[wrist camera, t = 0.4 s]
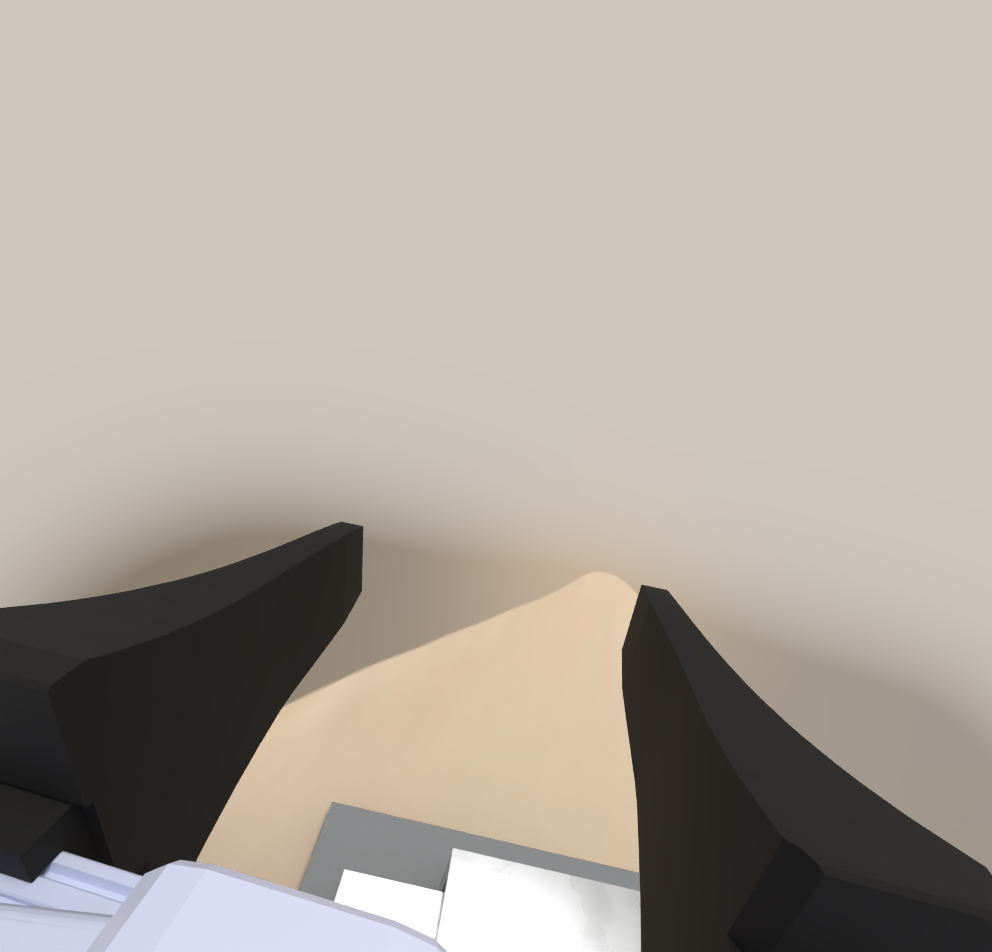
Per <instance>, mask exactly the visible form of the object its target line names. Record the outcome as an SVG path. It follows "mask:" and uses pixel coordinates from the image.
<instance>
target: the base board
mask: <svg viewBox="0 0 992 952" xmlns="http://www.w3.org/2000/svg"><path fill="white" fill-rule="evenodd" d="M453 848H455V849H460V850H464V851H468V852H473V853H477V854H481V855H485V856H490V857H494V858H498V859H503V860H507V861H511V862H516V863H520V864H524V865H529V866H533V867H537V868H542V869H546V870H550V871H555V872H559V873H563V874H567V875H572V876H576V877H580V878H585V879H589V880H593V881H598V882H602V883H606V884H611V885H615V886H619V887H624V888H628V889H632V890H636V891H640V873H637V872H633V871H629V870H624V869H620V868H616V867H611V866H607V865H603V864H598V863H594V862H590V861H586V860H581V859H577V858H573V857H568V856H564V855H560V854H555V853H551V852H547V851H542V850H538V849H534V848H529V847H525V846H521V845H516V844H512V843H508V842H504V841H499V840H495V839H491V838H486V837H482V836H478V835H473V834H469V833H465V832H460V831H456V830H452V829H447V828H443V827H439V826H435V825H430V824H426V823H422V822H417V821H413V820H409V819H404V818H400V817H396V816H391V815H387V814H383V813H378V812H374V811H370V810H366V809H361V808H357V807H353V806H348V805H344V804H340V803H335V802H332V804H331V806H330V809H329V812H328V814H327V817H326V820H325V822H324V825H323V828H322V830H321V833H320V836H319V838H318V841H317V844H316V846H315V849H314V852H313V854H312V857H311V860H310V862H309V865H308V868H307V870H306V873H305V876H304V878H303V881H302V884H301V887H300V889H299V891H302V892H305V893H308V894H311V895H315V896H318V897H321V898H324V899H328V900H331V901H335V898H336V895H337V891H338V888H339V885H340V882H341V879H342V876H343V873H344V869H345V870H349V871H354V872H358V873H362V874H366V875H371V876H375V877H379V878H384V879H388V880H392V881H397V882H401V883H405V884H410V885H414V886H418V887H423V888H427V889H431V890H436V891H438V888H439V886H440V883H441V880H442V877H443V874H444V872H445V869H446V866H447V863H448V860H449V858H450V855H451V852H452V849H453Z"/></svg>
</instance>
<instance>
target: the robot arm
mask: <svg viewBox="0 0 992 952" xmlns="http://www.w3.org/2000/svg"><path fill="white" fill-rule="evenodd" d="M362 555H363V526H359V525H354V524H350V523H344V522H339V523H336V524H333V525H331V526H328V527H325V528H323V529H320V530H318V531H315V532H313V533H310V534H308V535H306V536H303V537H301V538H298V539H296V540H293V541H291V542H289V543H286V544H284V545H281V546H279V547H277V548H274V549H271V550H269V551H266V552H263V553H261V554H258V555H255V556H253V557H250V558H247V559H244V560H242V561H239V562H236V563H234V564H231V565H228V566H225V567H222V568H218V569H215V570H212V571H209V572H205V573H202V574H198V575H194V576H191V577H187V578H184V579H180V580H176V581H172V582H167V583H162V584H158V585H154V586H149V587H145V588H140V589H136V590H131V591H126V592H121V593H115V594H110V595H104V596H98V597H91V598H84V599H78V600H71V601H63V602H56V603H48V604H37V605H28V606H17V607H7V608H0V952H448V951H447V950H446V949H445V948H444V947H443V946H442V945H441V944H440V943H439V942H438V941H437V940H436V939H434V938H432V937H430V936H428V935H426V934H424V933H422V932H419V931H417V930H415V929H413V928H411V927H409V926H407V925H404V924H402V923H400V922H398V921H396V920H393V919H389V918H386V917H383V916H380V915H376V914H373V913H370V912H367V911H363V910H360V909H357V908H354V907H350V906H347V905H344V904H341V903H337V902H334V901H331V900H328V899H324V898H321V897H318V896H315V895H311V894H308V893H305V892H302V891H298V890H295V889H292V888H289V887H285V886H282V885H279V884H276V883H273V882H269V881H266V880H263V879H260V878H256V877H253V876H250V875H247V874H243V873H240V872H237V871H234V870H230V869H227V868H224V867H221V866H217V865H214V864H207V863H199V862H196V860H197V858H198V856H199V854H200V852H201V850H202V848H203V846H204V844H205V842H206V840H207V839H208V837H209V835H210V833H211V831H212V829H213V827H214V826H215V824H216V822H217V820H218V818H219V816H220V814H221V813H222V811H223V809H224V807H225V805H226V803H227V801H228V800H229V798H230V796H231V794H232V792H233V790H234V789H235V787H236V785H237V783H238V782H239V780H240V778H241V776H242V775H243V773H244V771H245V769H246V768H247V766H248V764H249V762H250V761H251V759H252V757H253V755H254V754H255V752H256V750H257V748H258V747H259V745H260V743H261V742H262V740H263V738H264V737H265V735H266V733H267V732H268V730H269V728H270V727H271V725H272V723H273V722H274V720H275V718H276V717H277V715H278V713H279V712H280V710H281V709H282V707H283V706H284V704H285V703H286V701H287V700H288V698H289V697H290V695H291V694H292V693H293V691H294V690H295V689H296V687H297V686H298V685H299V683H300V682H301V680H302V679H303V678H304V676H305V675H306V674H307V672H308V671H309V670H310V668H311V667H312V666H313V664H314V663H315V662H316V660H317V659H318V658H319V656H320V655H321V654H322V652H323V651H324V650H325V648H326V647H327V646H328V644H329V643H330V642H331V640H332V639H333V638H334V636H335V635H336V633H337V632H338V631H339V629H340V628H341V627H342V625H343V624H344V622H345V620H346V619H347V617H348V615H349V613H350V612H351V610H352V608H353V606H354V604H355V602H356V601H357V599H358V597H359V595H360V593H361V591H362ZM622 690H623V698H624V706H625V713H626V721H627V728H628V735H629V742H630V749H631V757H632V764H633V771H634V778H635V787H636V798H637V814H638V839H639V870H640V912H641V952H992V875H991V873H990V872H989V871H988V869H987V868H986V867H985V866H983V865H981V864H980V863H978V862H977V861H975V860H974V859H972V858H971V857H969V856H968V855H966V854H965V853H963V852H961V851H960V850H959V849H957V848H955V847H954V846H952V845H951V844H949V843H948V842H946V841H945V840H943V839H941V838H940V837H938V836H937V835H935V834H934V833H932V832H931V831H929V830H927V829H926V828H925V827H923V826H922V825H920V824H919V823H917V822H915V821H914V820H912V819H911V818H909V817H908V816H906V815H905V814H904V813H902V812H901V811H899V810H898V809H896V808H895V807H893V806H892V805H891V804H889V803H888V802H887V801H885V800H884V799H882V798H881V797H879V796H878V795H877V794H875V793H874V792H873V791H871V790H870V789H868V788H867V787H866V786H864V785H863V784H862V783H860V782H859V781H858V780H856V779H855V778H854V777H852V776H851V775H850V774H848V773H847V772H846V771H844V770H843V769H842V768H841V767H839V766H838V765H837V764H835V763H834V762H833V761H832V760H831V759H829V758H828V757H827V756H826V755H824V754H823V753H822V752H821V751H820V750H818V749H817V748H816V747H815V746H813V745H812V744H811V743H810V742H809V741H807V740H806V739H805V738H804V737H802V736H801V735H800V734H799V733H798V732H797V731H795V730H794V729H793V728H792V727H791V726H790V725H789V724H788V723H786V722H785V721H784V720H783V719H782V718H781V717H780V716H779V715H778V714H777V713H776V712H775V711H774V710H773V709H771V708H770V707H769V706H768V705H767V704H766V703H765V702H764V701H763V700H762V699H761V698H760V697H759V696H758V695H757V694H756V693H755V692H754V691H753V690H752V689H751V688H750V687H749V686H748V685H747V684H746V683H745V682H744V681H743V680H742V679H741V678H740V677H739V676H738V674H736V673H735V671H734V670H733V669H732V668H731V667H730V666H729V665H728V664H727V663H726V661H725V660H724V659H723V658H722V657H721V656H720V655H719V653H718V652H717V651H716V650H715V649H714V648H713V646H711V644H710V643H709V642H708V640H707V639H706V638H705V637H704V636H703V635H702V633H701V632H700V631H699V629H698V628H697V627H696V626H695V624H694V623H693V622H692V621H691V619H690V618H689V617H688V616H687V614H686V613H685V612H684V610H683V609H682V608H681V607H680V605H679V604H678V603H677V602H676V600H675V599H674V598H673V597H672V595H671V594H670V593H669V592H668V591H667V590H664V589H659V588H654V587H650V586H645V585H641V589H640V592H639V595H638V598H637V602H636V605H635V608H634V612H633V615H632V618H631V622H630V625H629V628H628V632H627V635H626V638H625V642H624V645H623V648H622Z"/></svg>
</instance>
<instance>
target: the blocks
mask: <svg viewBox="0 0 992 952" xmlns="http://www.w3.org/2000/svg"><path fill="white" fill-rule="evenodd" d="M443 896H444V892H440V891H436V890H431V889H427V888H423V887H418V886H414V885H410V884H405V883H401V882H397V881H392V880H388V879H384V878H379V877H375V876H371V875H366V874H362V873H358V872H354V871H349V870H345V869H344V873H343V876H342V879H341V882H340V885H339V888H338V891H337V895H336V898H335V901H334V902H337V903H341V904H344V905H347V906H350V907H354V908H357V909H360V910H363V911H367V912H370V913H373V914H376V915H380V916H383V917H386V918H389V919H393V920H396V921H398V922H400V923H402V924H404V925H407V926H409V927H411V928H413V929H415V930H417V931H419V932H422V933H424V934H426V935H428V936H430V937H432V938H434V939H436V938H437V932H438V926H439V920H440V914H441V908H442V902H443Z"/></svg>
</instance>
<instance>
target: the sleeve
mask: <svg viewBox="0 0 992 952" xmlns="http://www.w3.org/2000/svg"><path fill="white" fill-rule="evenodd" d="M438 891H440V892H444V896H443V902H442V908H441V914H440V920H439V926H438V932H437V938H436V940H437V941H438V942H439V943H440V944H441V945H442V946H443V947H444V948H445V949H446V950H447V951H448V952H641V912H640V891H636V890H632V889H628V888H624V887H619V886H615V885H611V884H606V883H602V882H598V881H593V880H589V879H585V878H580V877H576V876H572V875H567V874H563V873H559V872H555V871H550V870H546V869H542V868H537V867H533V866H529V865H524V864H520V863H516V862H511V861H507V860H503V859H498V858H494V857H490V856H485V855H481V854H477V853H473V852H468V851H464V850H460V849H455V848H453V849H452V852H451V855H450V858H449V860H448V863H447V866H446V869H445V872H444V874H443V877H442V880H441V883H440V886H439V888H438Z"/></svg>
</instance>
